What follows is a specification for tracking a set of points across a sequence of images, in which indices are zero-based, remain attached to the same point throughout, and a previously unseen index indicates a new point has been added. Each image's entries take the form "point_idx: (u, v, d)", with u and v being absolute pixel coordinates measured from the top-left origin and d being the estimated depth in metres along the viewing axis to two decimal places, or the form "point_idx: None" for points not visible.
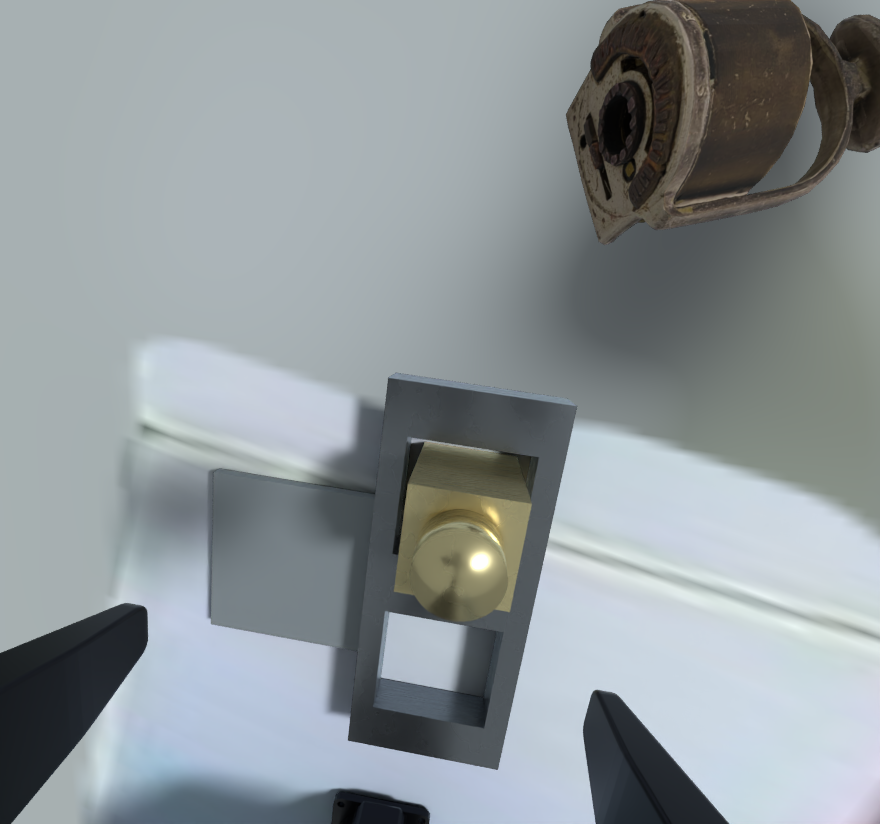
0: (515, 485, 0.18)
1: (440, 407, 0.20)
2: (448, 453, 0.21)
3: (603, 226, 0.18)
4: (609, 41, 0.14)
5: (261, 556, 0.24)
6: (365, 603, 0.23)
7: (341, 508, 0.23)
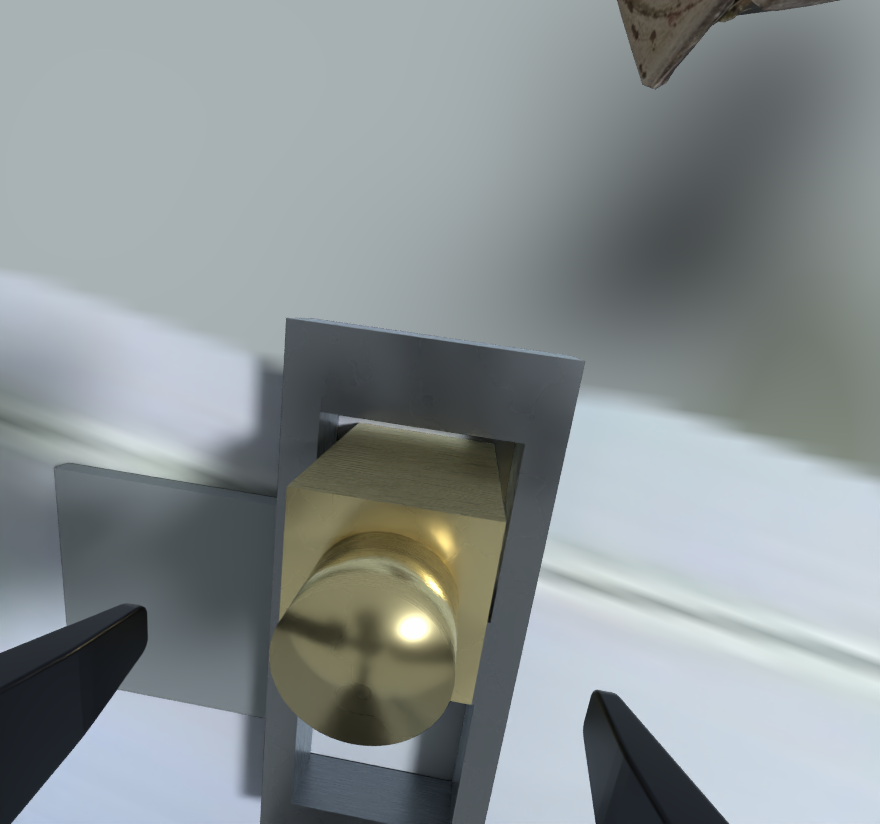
0: (482, 488, 0.11)
1: (368, 365, 0.13)
2: (387, 438, 0.14)
3: (652, 48, 0.10)
4: None
5: (132, 588, 0.17)
6: None
7: (238, 520, 0.16)
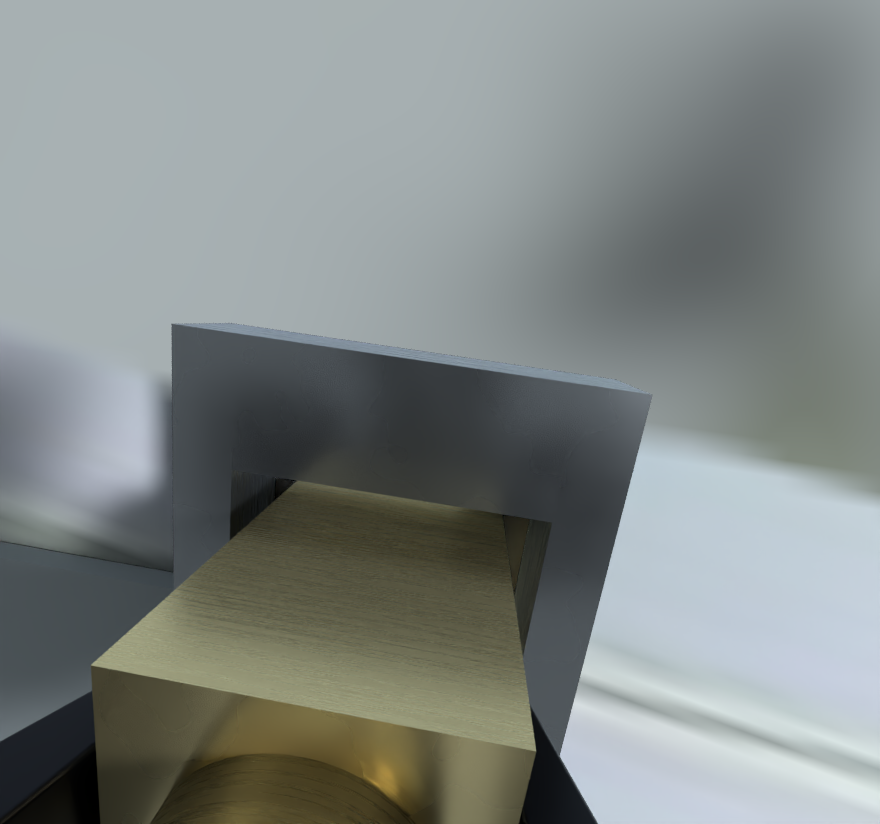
0: (486, 628, 0.06)
1: (304, 398, 0.08)
2: (340, 506, 0.09)
3: None
4: None
5: None
6: None
7: (136, 610, 0.11)
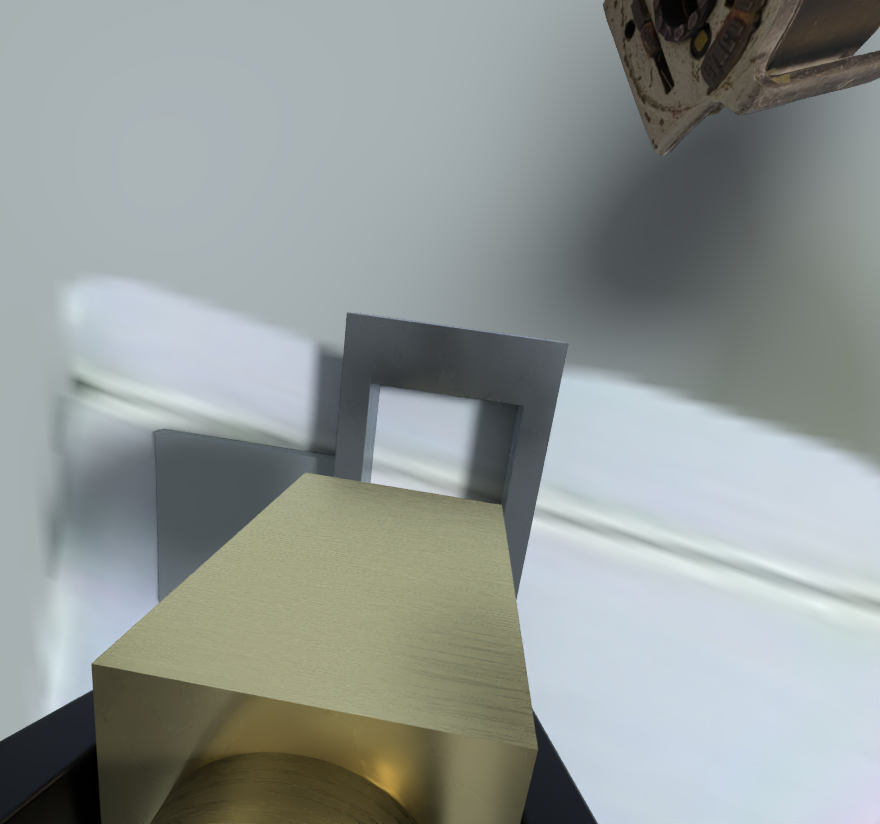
0: (487, 626, 0.06)
1: (408, 347, 0.17)
2: (340, 505, 0.09)
3: (661, 130, 0.14)
4: None
5: (212, 529, 0.21)
6: None
7: (300, 472, 0.20)
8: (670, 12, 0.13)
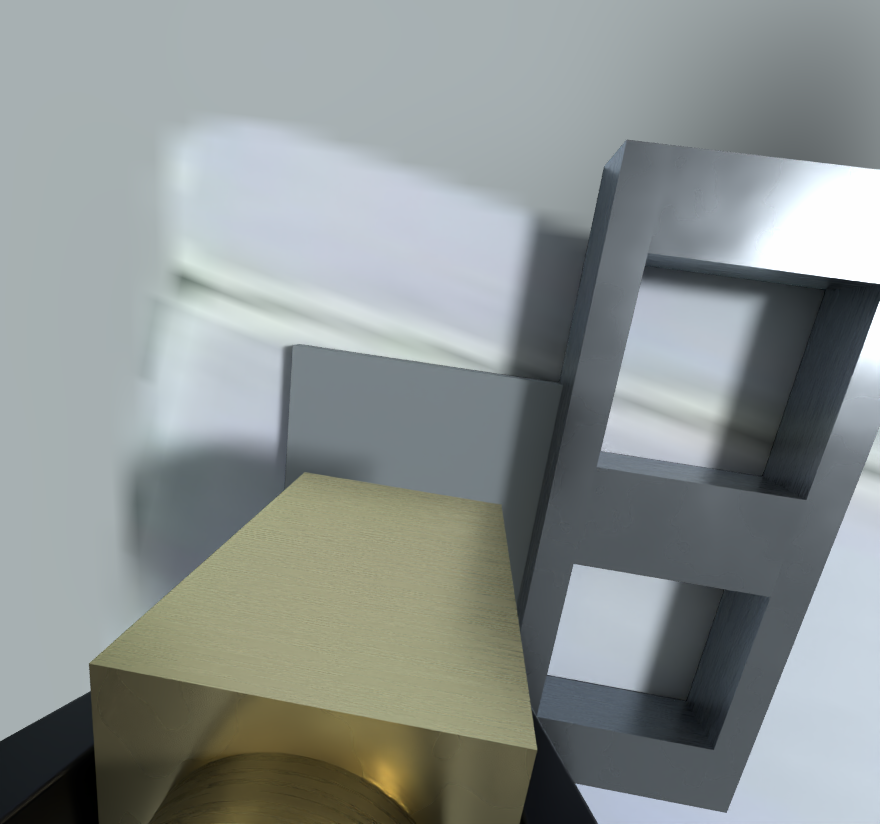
0: (486, 626, 0.06)
1: (715, 194, 0.11)
2: (340, 505, 0.09)
3: None
4: None
5: None
6: (541, 551, 0.14)
7: (497, 401, 0.14)
8: None
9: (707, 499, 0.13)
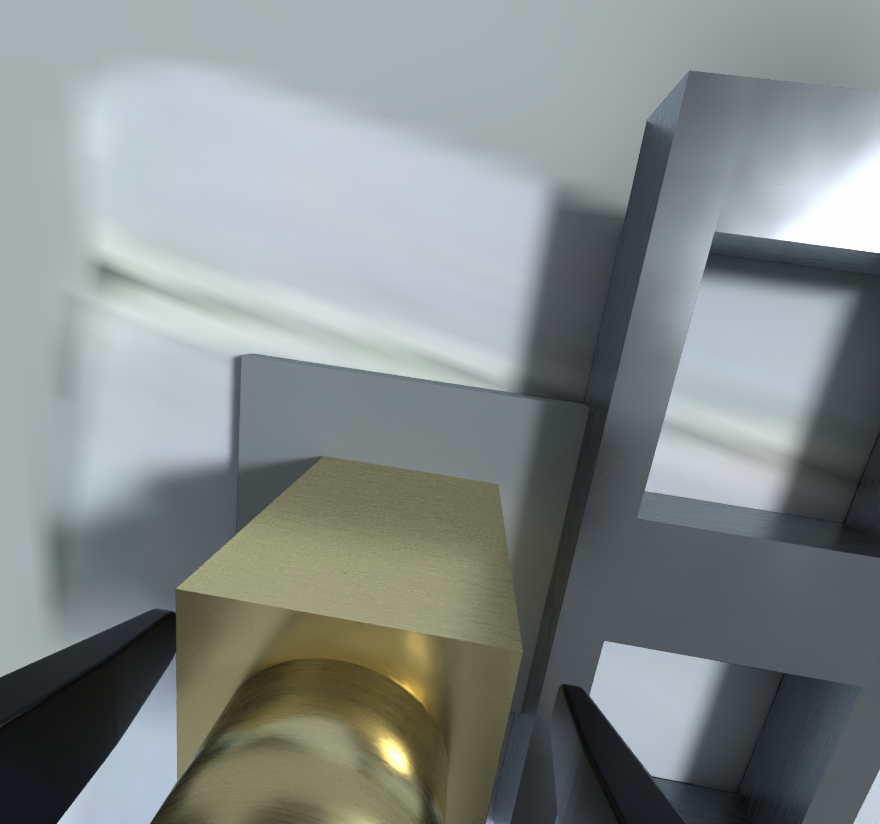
0: (484, 572, 0.07)
1: (813, 149, 0.08)
2: (357, 482, 0.10)
3: None
4: None
5: None
6: (562, 624, 0.11)
7: (504, 427, 0.11)
8: None
9: (784, 561, 0.10)
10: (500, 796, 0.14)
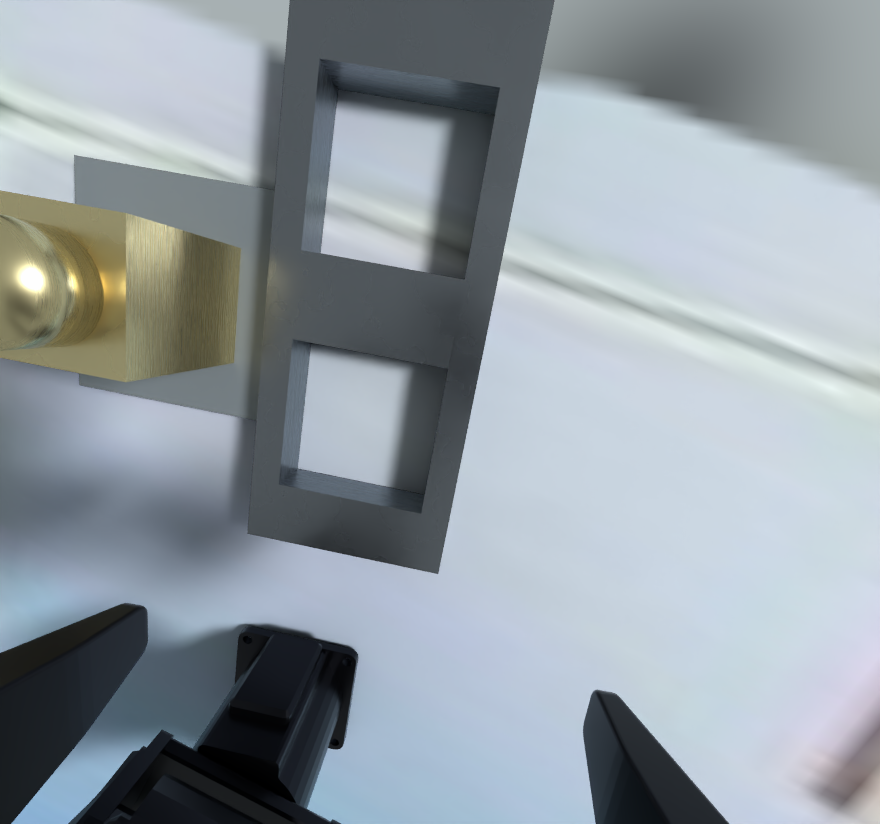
0: None
1: (364, 8, 0.14)
2: None
3: None
4: None
5: None
6: (266, 327, 0.17)
7: (241, 207, 0.17)
8: None
9: (389, 279, 0.16)
10: None
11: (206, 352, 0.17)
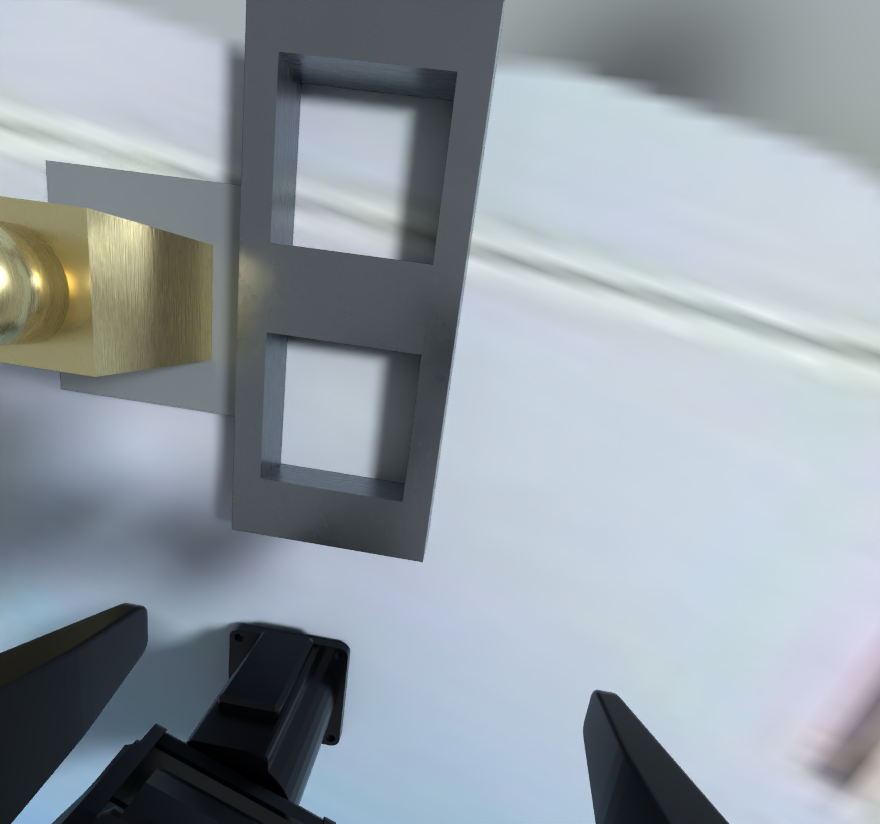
0: None
1: None
2: None
3: None
4: None
5: None
6: (240, 322, 0.17)
7: (211, 204, 0.18)
8: None
9: (358, 267, 0.16)
10: None
11: (181, 348, 0.17)
